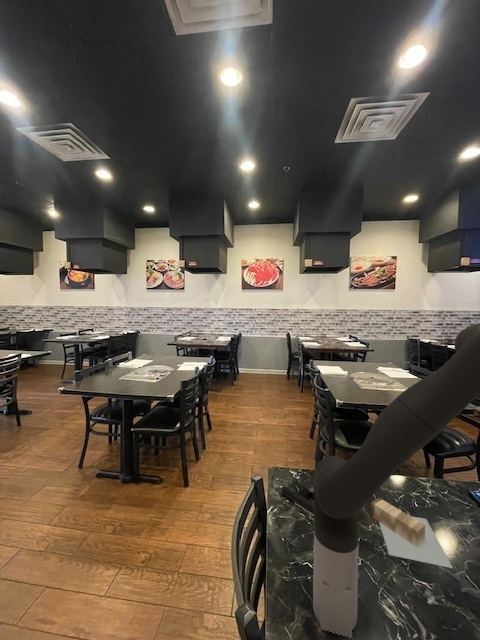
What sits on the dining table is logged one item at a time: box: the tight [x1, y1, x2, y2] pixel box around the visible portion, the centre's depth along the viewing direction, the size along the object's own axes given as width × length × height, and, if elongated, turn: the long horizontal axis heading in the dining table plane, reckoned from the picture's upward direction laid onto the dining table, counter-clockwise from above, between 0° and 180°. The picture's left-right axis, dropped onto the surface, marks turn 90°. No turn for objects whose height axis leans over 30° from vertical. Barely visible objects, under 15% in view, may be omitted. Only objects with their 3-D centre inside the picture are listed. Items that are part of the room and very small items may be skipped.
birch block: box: [370, 497, 425, 547], centre depth 86 cm, size 4×4×14 cm
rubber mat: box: [378, 516, 454, 569], centre depth 83 cm, size 18×15×1 cm
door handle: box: [281, 486, 314, 517], centre depth 98 cm, size 3×20×16 cm
